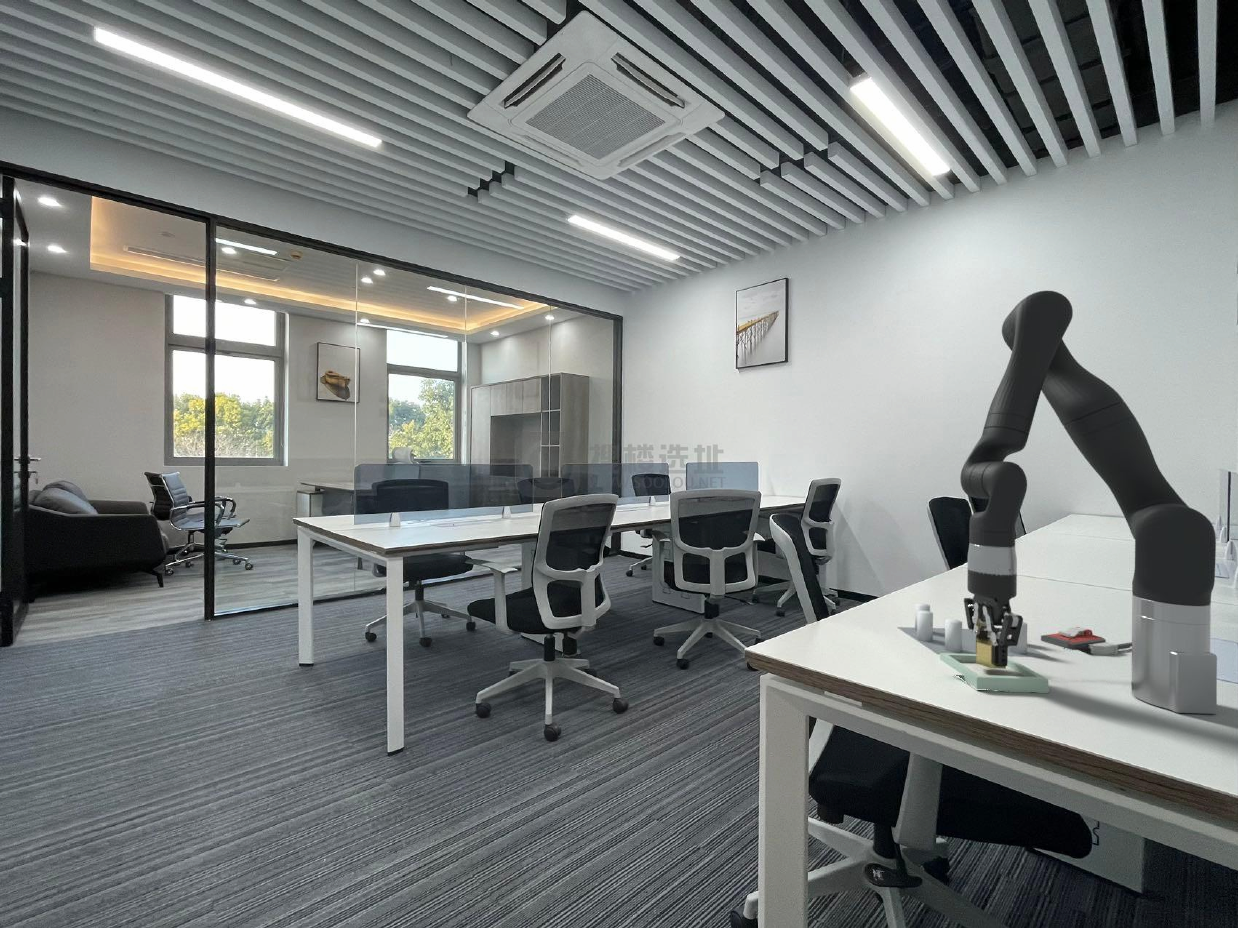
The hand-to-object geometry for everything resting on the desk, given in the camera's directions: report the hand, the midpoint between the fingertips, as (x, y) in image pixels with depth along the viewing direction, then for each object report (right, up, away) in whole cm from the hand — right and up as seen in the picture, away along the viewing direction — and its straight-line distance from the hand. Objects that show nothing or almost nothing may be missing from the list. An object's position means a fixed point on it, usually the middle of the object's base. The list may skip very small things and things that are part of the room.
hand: (991, 660), depth 100 cm
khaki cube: (0, -1, 0) cm, 1 cm away
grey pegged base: (+7, -3, +18) cm, 19 cm away
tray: (0, -3, 0) cm, 3 cm away
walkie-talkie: (+33, -4, +17) cm, 38 cm away
